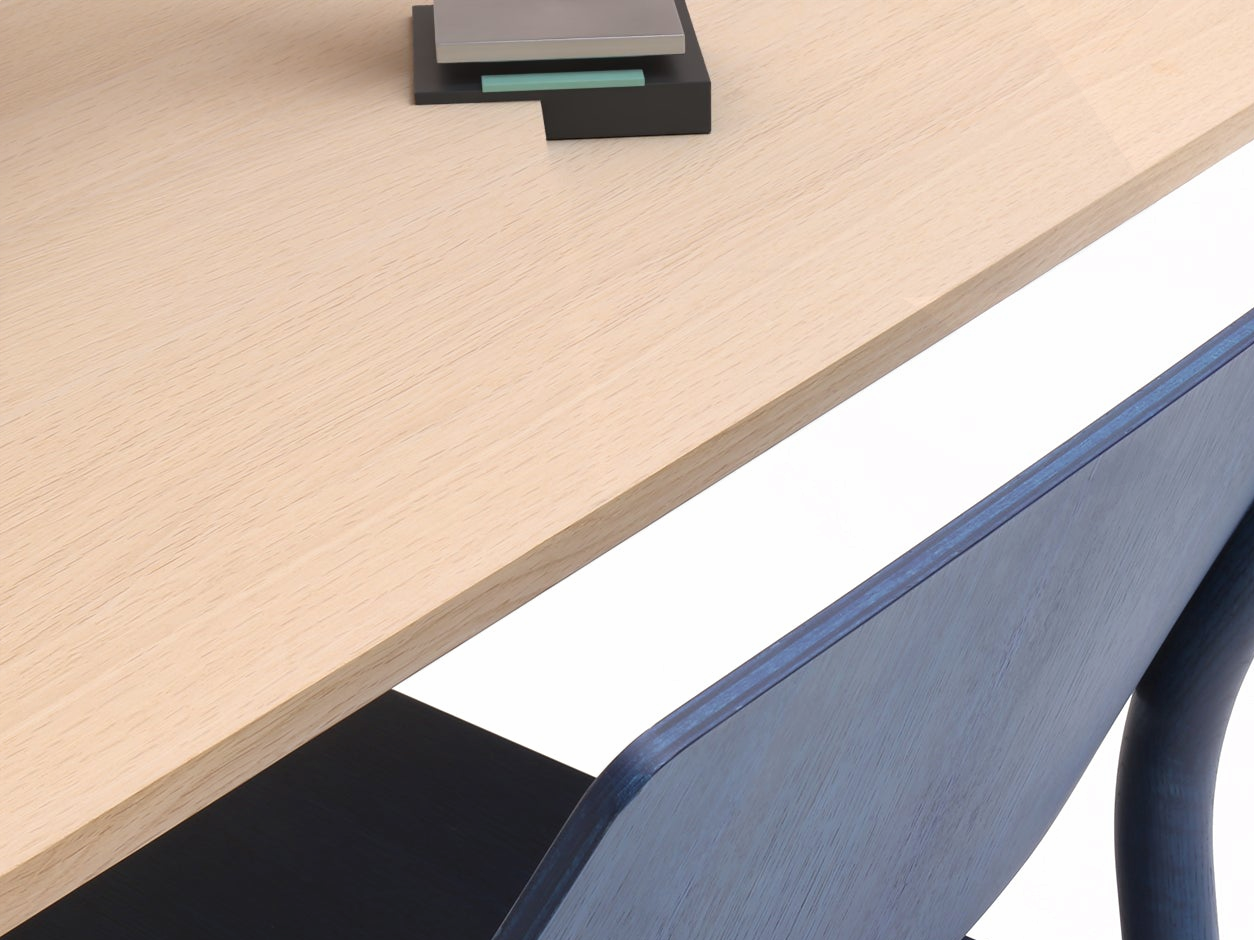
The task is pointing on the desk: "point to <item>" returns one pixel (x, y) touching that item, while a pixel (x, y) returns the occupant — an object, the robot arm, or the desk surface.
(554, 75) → the scale
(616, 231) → the desk surface
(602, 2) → the scale pan
